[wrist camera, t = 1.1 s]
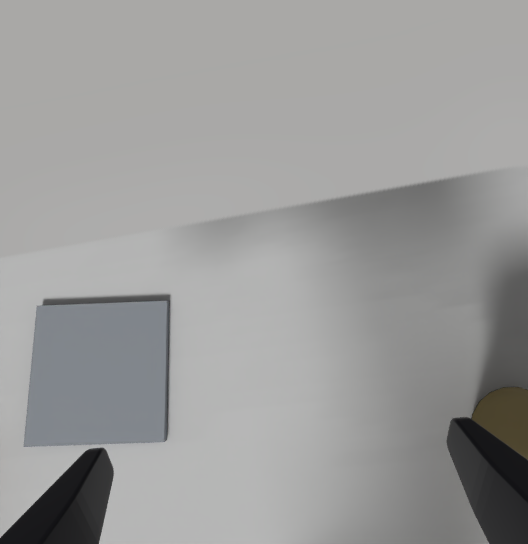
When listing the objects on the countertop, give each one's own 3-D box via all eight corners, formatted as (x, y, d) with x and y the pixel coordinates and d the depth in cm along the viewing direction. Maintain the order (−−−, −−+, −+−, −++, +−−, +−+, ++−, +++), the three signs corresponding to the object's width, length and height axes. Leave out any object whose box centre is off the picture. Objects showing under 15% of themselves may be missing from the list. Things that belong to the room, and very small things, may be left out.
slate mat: (166, 439, 23) (164, 441, 22) (28, 444, 23) (23, 446, 22) (169, 301, 25) (166, 300, 24) (41, 306, 25) (36, 305, 24)
